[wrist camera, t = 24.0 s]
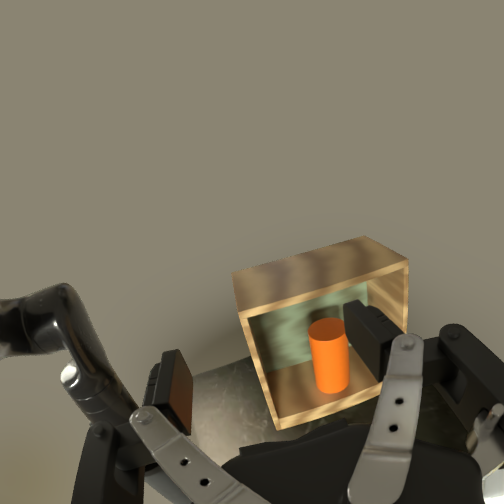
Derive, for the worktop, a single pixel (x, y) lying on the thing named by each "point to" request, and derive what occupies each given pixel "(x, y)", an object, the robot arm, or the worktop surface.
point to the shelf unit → (311, 310)
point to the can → (330, 354)
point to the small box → (494, 488)
